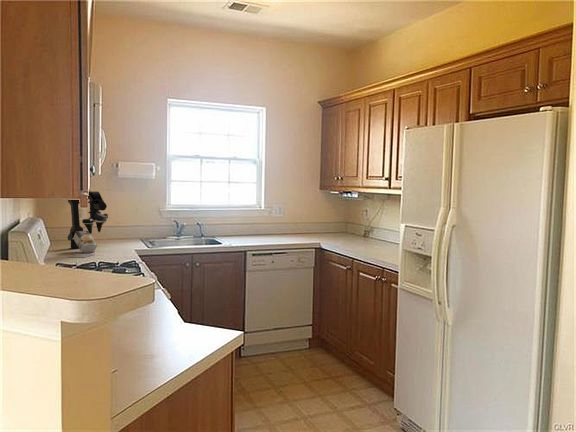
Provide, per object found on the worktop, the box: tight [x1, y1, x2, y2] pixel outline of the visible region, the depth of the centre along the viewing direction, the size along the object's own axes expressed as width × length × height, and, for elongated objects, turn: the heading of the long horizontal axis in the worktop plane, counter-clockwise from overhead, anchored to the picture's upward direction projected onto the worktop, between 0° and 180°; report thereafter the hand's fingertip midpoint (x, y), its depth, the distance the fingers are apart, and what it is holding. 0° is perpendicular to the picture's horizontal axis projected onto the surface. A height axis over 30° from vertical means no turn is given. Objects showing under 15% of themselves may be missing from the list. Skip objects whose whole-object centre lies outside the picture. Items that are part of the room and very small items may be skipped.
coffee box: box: [72, 230, 98, 254], centre depth 329 cm, size 9×6×16 cm
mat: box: [67, 253, 96, 259], centre depth 313 cm, size 12×12×1 cm
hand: (95, 233), depth 328 cm, fingers open, 9 cm apart
